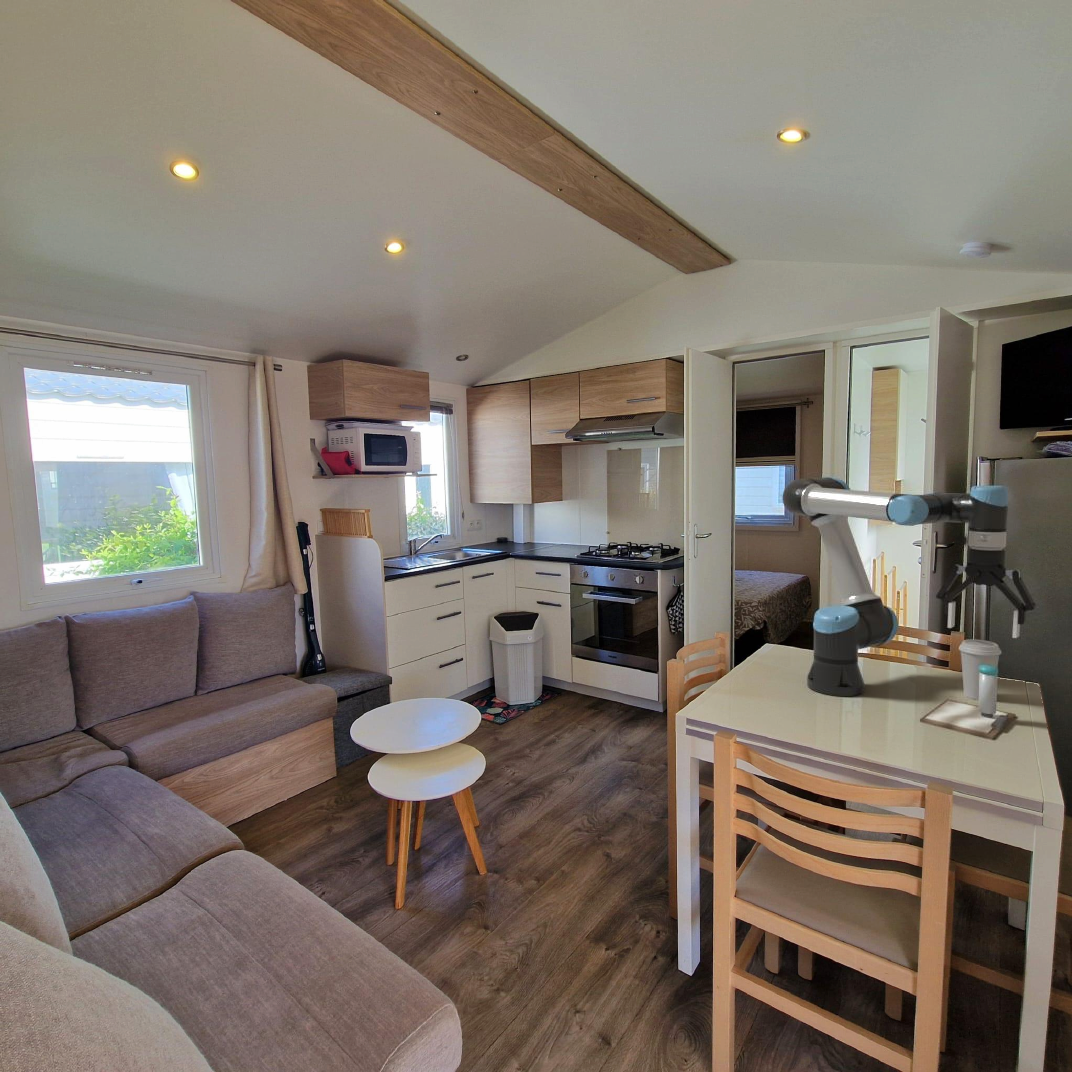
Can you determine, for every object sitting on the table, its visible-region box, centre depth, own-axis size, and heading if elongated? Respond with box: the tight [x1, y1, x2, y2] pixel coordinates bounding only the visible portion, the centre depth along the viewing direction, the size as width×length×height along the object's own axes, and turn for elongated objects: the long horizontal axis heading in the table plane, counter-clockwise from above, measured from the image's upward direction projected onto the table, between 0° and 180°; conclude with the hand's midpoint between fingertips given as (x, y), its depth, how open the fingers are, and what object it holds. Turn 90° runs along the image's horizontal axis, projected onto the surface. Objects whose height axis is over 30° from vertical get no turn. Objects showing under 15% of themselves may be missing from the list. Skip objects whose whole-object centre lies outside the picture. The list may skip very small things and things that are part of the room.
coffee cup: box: [958, 638, 1002, 701], centre depth 168 cm, size 10×10×15 cm
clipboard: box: [919, 698, 1017, 741], centre depth 154 cm, size 15×20×2 cm
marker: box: [977, 665, 999, 718], centre depth 153 cm, size 4×4×13 cm
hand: (982, 631), depth 154 cm, fingers open, 13 cm apart
